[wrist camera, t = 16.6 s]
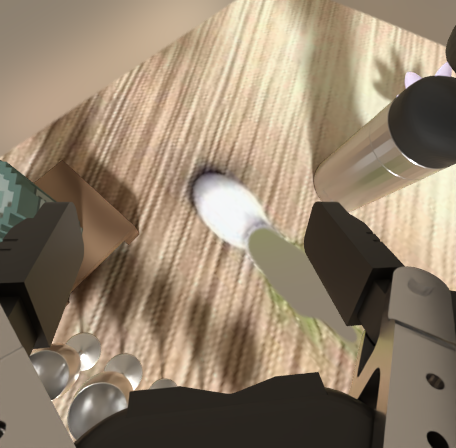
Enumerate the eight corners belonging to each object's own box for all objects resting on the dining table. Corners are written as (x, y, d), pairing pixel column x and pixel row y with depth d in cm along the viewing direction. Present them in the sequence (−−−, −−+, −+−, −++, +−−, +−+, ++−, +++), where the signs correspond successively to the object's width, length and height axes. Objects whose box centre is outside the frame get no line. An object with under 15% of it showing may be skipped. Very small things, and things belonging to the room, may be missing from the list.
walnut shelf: (75, 175, 42) (62, 160, 37) (139, 234, 42) (134, 226, 37) (-14, 250, 38) (-41, 243, 33) (56, 315, 38) (39, 318, 33)
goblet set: (50, 364, 36) (-16, 403, 24) (79, 320, 38) (32, 333, 25) (251, 473, 38) (292, 565, 25) (271, 425, 39) (319, 489, 27)
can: (28, 209, 35) (-72, 150, 21) (84, 212, 36) (26, 158, 22) (20, 261, 34) (-95, 238, 19) (78, 263, 35) (11, 242, 20)
